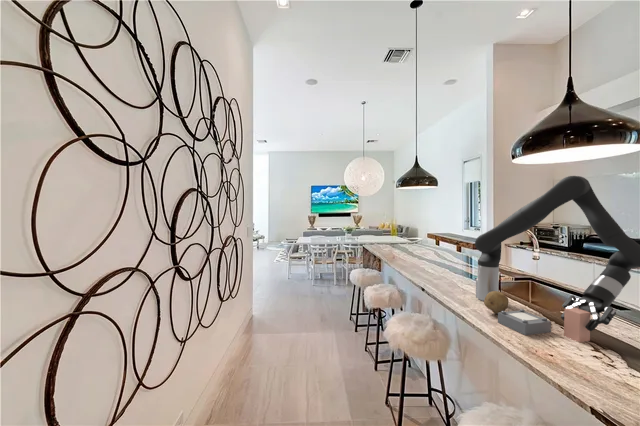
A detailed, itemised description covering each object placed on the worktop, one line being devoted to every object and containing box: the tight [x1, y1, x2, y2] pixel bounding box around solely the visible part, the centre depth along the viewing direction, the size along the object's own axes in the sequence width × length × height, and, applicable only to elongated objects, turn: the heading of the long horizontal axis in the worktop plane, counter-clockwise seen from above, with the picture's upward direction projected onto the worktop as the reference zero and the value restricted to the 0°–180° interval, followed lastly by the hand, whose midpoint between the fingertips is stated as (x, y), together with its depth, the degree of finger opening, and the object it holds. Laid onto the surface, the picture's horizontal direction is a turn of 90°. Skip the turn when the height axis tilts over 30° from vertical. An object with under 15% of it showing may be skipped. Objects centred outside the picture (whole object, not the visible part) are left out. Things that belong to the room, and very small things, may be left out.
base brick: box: [497, 308, 552, 336], centre depth 112 cm, size 12×12×5 cm
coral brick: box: [563, 307, 592, 343], centre depth 103 cm, size 5×5×10 cm
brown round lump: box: [483, 290, 510, 315], centre depth 126 cm, size 9×9×10 cm
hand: (575, 324), depth 102 cm, fingers open, 8 cm apart
